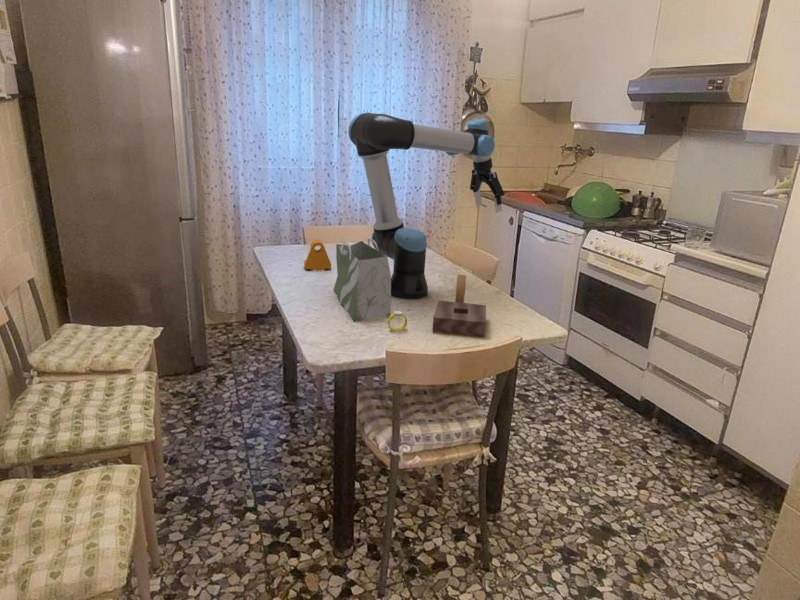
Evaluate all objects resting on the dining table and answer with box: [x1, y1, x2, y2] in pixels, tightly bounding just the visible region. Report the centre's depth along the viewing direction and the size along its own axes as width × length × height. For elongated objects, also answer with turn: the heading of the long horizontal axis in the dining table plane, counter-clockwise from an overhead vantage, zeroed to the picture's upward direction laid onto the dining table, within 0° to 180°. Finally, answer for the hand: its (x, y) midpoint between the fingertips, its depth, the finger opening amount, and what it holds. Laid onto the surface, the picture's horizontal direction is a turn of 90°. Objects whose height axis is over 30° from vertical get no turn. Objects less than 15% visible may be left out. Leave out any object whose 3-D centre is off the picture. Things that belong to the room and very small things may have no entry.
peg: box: [454, 274, 467, 303], centre depth 183 cm, size 3×3×12 cm
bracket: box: [303, 239, 332, 271], centre depth 223 cm, size 11×7×12 cm, turn 104°
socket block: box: [431, 300, 487, 338], centre depth 169 cm, size 16×16×5 cm
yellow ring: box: [387, 310, 408, 332], centre depth 164 cm, size 6×3×6 cm, turn 105°
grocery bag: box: [333, 237, 392, 322], centre depth 182 cm, size 32×14×23 cm, turn 20°
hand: (488, 208), depth 224 cm, fingers open, 13 cm apart
